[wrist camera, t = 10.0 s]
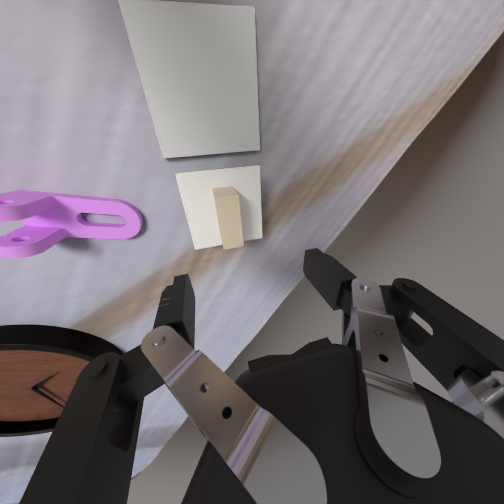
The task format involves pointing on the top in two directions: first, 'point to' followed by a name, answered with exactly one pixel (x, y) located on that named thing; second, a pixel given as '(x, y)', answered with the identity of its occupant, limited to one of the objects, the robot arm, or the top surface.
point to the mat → (197, 74)
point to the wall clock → (41, 374)
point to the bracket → (60, 220)
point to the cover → (222, 205)
